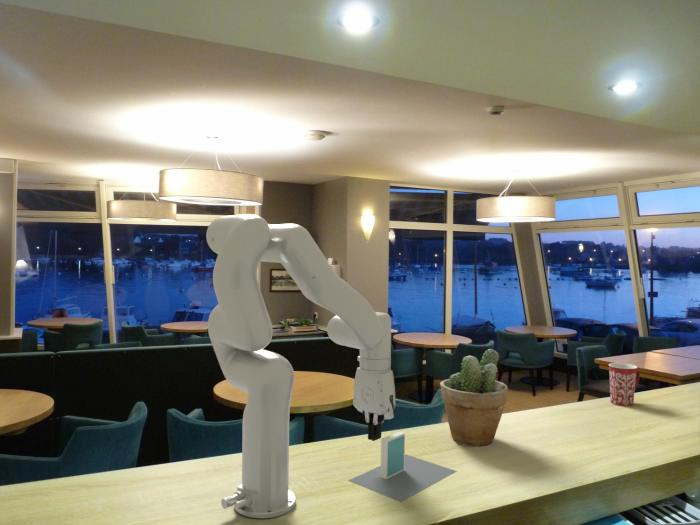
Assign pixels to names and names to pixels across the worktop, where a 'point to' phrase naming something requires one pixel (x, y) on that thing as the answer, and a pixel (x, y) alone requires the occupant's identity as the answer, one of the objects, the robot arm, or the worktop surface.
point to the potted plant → (474, 400)
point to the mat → (404, 479)
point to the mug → (623, 383)
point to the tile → (392, 454)
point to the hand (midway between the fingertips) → (374, 438)
